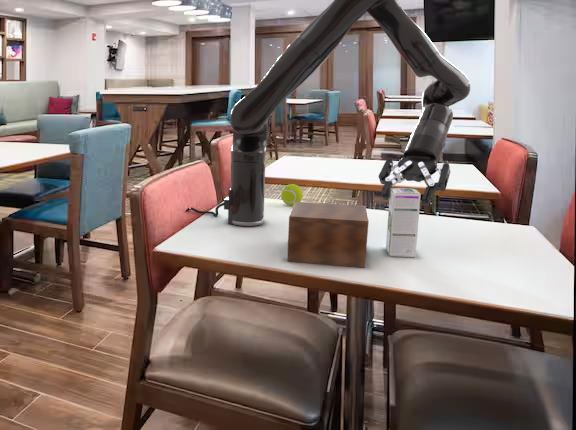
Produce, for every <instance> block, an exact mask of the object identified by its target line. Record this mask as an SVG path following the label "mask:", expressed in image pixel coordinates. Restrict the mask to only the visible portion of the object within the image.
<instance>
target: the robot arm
mask: <svg viewBox="0 0 576 430" xmlns="http://www.w3.org/2000/svg"><path fill="white" fill-rule="evenodd" d="M366 13H367V14H368V15H369V16H370V17H371V18H372V19H373V20H374V21H375V22H376V23H377V25H378V26H379V27H380V28H381V29H382V30H383V32H384V33H385V34H386V36H387V37H388V39H389V40H390V42H391V43H392V45H393V46H394V47H395V49H396V50H397V51H398V53H399V55H400V56H401V58H402V60H403V61H404V62H405V64H406V65H407V67H408V68H409V69H410V70H411V72H412V73H413V74H414V76H415V77H417V78H419V79H420V78H421V79H422V78H425V77H432V78H434V79H435V81H433V82H431V83H430V84H429V85H428V86H426V87H425V89H424V91H423V92H422V97H421V113H420V116H419V118H418V120H417V123H416V125H415V127H414V128H413V130H412V132H411V135H410V137H409V140H408V142H407V145H406V147H405V149H404V152H403V155H402V158H401V159H399V161H398V160H393V159H392V158H391V157H388V158H386V160H385V162H384V164H383V165H382V168H381V170H380V172H379V174H378V179H379V182H380V184H381V185H382V188H381V191H380V193H381V194H380V195H381V197H382V199H383V200H384V201H388V200H389V199H390V189H391V188H393V186H395V185H397V184H401V183H402V182H405V180H406V181H407V182H417V183H421V182H424V183H425V185H426V187H425V188H424V189H425V190H424V192H423V195H422V196H421V197H422V198H421V205H422V206H428V204H431V202H432V200H433V198H434V195H435V193H436V192H438V191H440V192H445V191H446V189H447V186H448V182H449V179H450V175H451V167H450V163H448V162H444V163H443V164H442V165H441V164H438V163H439V161H440V158H441V155H442V152H443V150H444V148H445V145H446V142H447V137H448V133H449V130H450V128H451V125H452V122H453V118H454V112H453V109H452V108H451V106H453V105H455V104H457V103H460V102H461V101H463V100H465V99H467V97H468V96H469V95H470V92H471V83H470V80H469V78H468V76H466V74H465V73H464V72H463V71H462V70H461V69H459V68H458V67H457V66H455V65H454V64H452V62H451V61H449V60H448V59H446V58H445V57H444V56H443V55H441V53H440V51H439V50H438V49H437V47H436V46H435V44H434V43H433V42H432V41H431V39H430V38H429V36H428V35H427V33H425V32H424V30H423V29H422V28H421V27H420V26H419V25H418V24H417V23H416V22H415V21H414V20H413V19H412V18H411V17H410V16H409V15H408V14H407V13H406V11H405V10H404V9H403V7H402V6H401V5H400V3H399V2H398V0H333V1H332V2H331V3H330V4H329V5H328V6H327V7H326V8H324V10H323V11H321V13H320V14H318V16H316V17H315V18H314V19H313V20H312V21H311V22H310V23H309V24H308V25H307V26H306V27H305V28H304V29H303V30H302V31H301V32H300V33H299V34H298V35H297V36H296V37H295V38H294V40H293V41H292V42H291V43H290V44H289V45H288V46H287V47H286V49H285V50H284V51H283V52H282V54H281V55H280V56H279V57H278V58H277V60H276V61H275V62H274V64H273V65H272V66H271V68H270V69H269V71H268V72H267V73H266V75H265V76H264V77H263V79H262V80H261V81H259V83H258V84H257V85H256V86H255V87H254V88H252V90H250V91H249V92H248V93H247V94H246V95H245V96H244V97H243V98H242V99H240V100H239V101H238V102H237V103H235V104H234V105H233V107H232V109H231V111H230V115H229V122H230V126H231V128H232V144H231V149H230V183H229V184H230V185H229V187H230V188H229V189H228V196H226V197H225V198H224V199H223V202H222V203H219V204H218V205H217V206H216V207H215V210H214V211H215V212H214V211H211V210H198V209H196V208H194V207H191V206H190V207H191V209H189V207H187V208H185V212H189V211H192V212H195V213H197V214H202V215H205V214H206V215H213V216H214V217H218V216H219V209H220V208H221V207H223V210H224V211H225V210H227V224H229V225H235V226H238V227H239V226H240V227H257V226H262V225H263V224H264V223H265V214H264V213H265V190H266V189H265V187H266V186H265V185H266V184H265V183H266V156H267V144H268V122H269V119H270V117H271V116H272V114H273V113H274V112H275V110H276V109H278V107H279V106H280V105H281V103H283V102H284V100H285V99H286V98H287V97H288V96H290V95H291V94H292V93H294V92H295V91H296V90H297V89H298V88H300V87H301V86H302V85H303V84H304V83H305V82H306V81H308V79H310V78H311V77H312V75H315V73H316V72H317V71H318V70H319V69H320V68H321V66H322V65H323V64H324V63H325V62H326V61H327V60H328V59H329V57H331V55H332V54H333V53H334V52H335V50H336V49H337V47H338V46H339V45H340V43H341V42H342V41H343V39H344V38H345V36H346V35H347V34H348V33H349V31H350V30H351V29H352V27H353V26H354V25H355V23H357V22H358V21H359V20H360V19H361V18H362V17H363V16H364V15H365V14H366ZM437 172H438V174H439V178H438V181H437V182H435V181H434V180H433V178H432V175H434V174H435V173H437ZM179 301H180V302H183V300H182V299H180V300H179Z"/></svg>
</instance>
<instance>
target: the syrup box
mask: <svg viewBox="0 0 576 430" xmlns="http://www.w3.org/2000/svg"><path fill="white" fill-rule="evenodd" d="M421 195H422V194H421V193H420V192H419V190H418V189H416V188H412V187H392V188H391V189H390V195H389V199H388V200H389V201H388V215H387V228H386V242H385V249H386V252H387V253H388V256H390V257H399V258H401V257H402V258H416V254H417V244H418V236H419V235H418V233H419V221H420V208H421V207H420V206H421V197H422V196H421Z"/></svg>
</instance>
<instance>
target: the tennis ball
mask: <svg viewBox="0 0 576 430" xmlns="http://www.w3.org/2000/svg"><path fill="white" fill-rule="evenodd" d="M280 197H281V200H282V201H283V203H284V204H285V205H287V206H292V207H293V206H294V203H295V202H302V200H303V197H304V193H303V190H302V188H301V187H300V186H299V185H297V184H294V183H290V184H287V185H285V186H284V187H283V188H282V190H281V192H280Z"/></svg>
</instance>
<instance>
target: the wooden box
mask: <svg viewBox="0 0 576 430" xmlns="http://www.w3.org/2000/svg"><path fill="white" fill-rule="evenodd" d="M287 232H288V233H287V235H288V236H287V257H286V258H287V259H286V261H287V262H289V263H290V262H292V263H305V264H315V265H325V266H327V265H328V266H340V267H351V268H352V267H353V268H364V269H365V268H366V258H367V248H368V247H367V246H368V233H369V217H368V212H367V206H366V205H362V204H347V203H346V204H344V203H326V202H325V203H324V202H308V201H300V202H295V203H294V205H293V206H292V208H291V210H290V214H289V215H288V231H287Z"/></svg>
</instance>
